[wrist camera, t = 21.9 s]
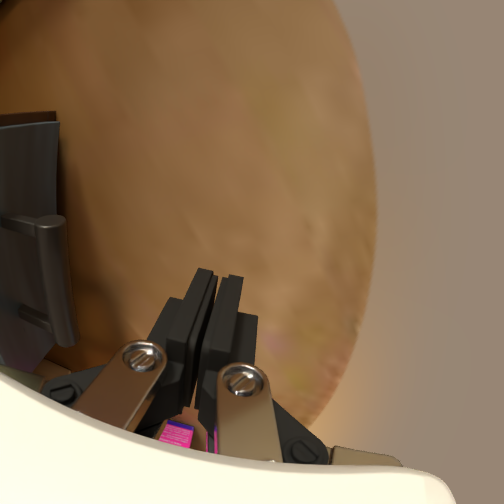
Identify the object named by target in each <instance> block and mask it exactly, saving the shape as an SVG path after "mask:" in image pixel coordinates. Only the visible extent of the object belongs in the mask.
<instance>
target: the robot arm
mask: <svg viewBox="0 0 504 504" xmlns="http://www.w3.org/2000/svg"><path fill="white" fill-rule="evenodd" d="M243 279H244V277H240V276H235V275H230V274H229V277H228V278H225V277H222V281H221V284H220V287H219V290H218V294H217V297H216V300H215V294H216V288H217V282H218V276H216V275H213V271H211V270H206V269H201V268H198V270H197V272H196V274H195V276H194V278H193V280H192V282H191V284H190V287H189V289H188V291H187V293H186V295H185V297H184V299H183V300H181V299H177V298H173V297H170V298H169V299H168V301H167V303H166V305H165V306H164V308H163V310H162V312H161V314H160V316H159V318H158V319H157V321H156V323H155V325H154V327H153V329H152V331H151V333H150V334H149V336H148V338H147V340H134V341H130V342H128V343H126V344H124V345H123V346H122V347H121V348H120V349H119V350H118V351H117V352H116V353H115V355H114V356H113V357H112V358H111V359H110V360H109V362H108V363H107V364H105V365H101V366H97V367H94V368H90V369H86V370H83V371H79V372H75V373H71V374H67V375H63V376H59V377H56V378H54V379H51V380H47V379H46V376H42V375H38V374H34V373H31V372H27V371H23V370H20V369H16V368H13V367H10V366H6V365H3V364H0V504H456V502H455V500H454V497H453V495H452V493H451V491H450V489H449V488H448V486H447V485H446V484H445V483H444V481H442V480H441V479H439V478H438V477H436V476H434V475H432V474H430V473H427V472H424V471H420V470H416V469H411V468H406V467H403V466H402V464H401V463H400V461H399V460H397V459H396V458H395V457H392V456H389V455H384V454H377V453H371V452H365V451H360V450H354V449H349V448H344V447H340V446H334V447H333V448H330V447H326V446H325V445H324V444H323V443H322V441H321V440H320V439H318V438H317V437H316V436H315V435H313V434H312V433H311V432H310V431H309V430H308V429H306V428H305V427H304V426H303V425H302V424H300V423H299V422H298V421H297V420H296V419H295V418H294V417H292V416H291V415H290V414H289V413H288V412H287V411H286V410H284V409H283V408H282V407H281V406H280V405H279V404H278V403H277V402H276V401H274V400H273V399H272V395H271V390H270V384H269V380H268V378H267V376H266V374H265V373H264V372H263V371H262V370H261V369H259V368H258V367H256V366H254V362H255V350H256V337H257V324H258V316H256V315H251V314H246V313H241V312H238V307H239V301H240V295H241V290H242V284H243ZM214 300H215V303H214ZM197 378H198V379H197ZM196 382H197V388H196V397H195V406H194V409H198V410H199V413H198V420H199V422H200V423H201V424H202V425H203V426H204V428H205V429H206V430H207V433H206V452H203V451H199V450H194V449H190V448H185V447H181V446H177V445H173V444H169V443H165V442H162V441H158V440H159V438H160V436H161V434H162V432H163V431H164V429H165V427H166V425H167V421H168V419H169V418H171V417H174V416H176V415H178V414H182V410H183V407H184V406H185V407H190V404H191V400H192V396H193V393H194V389H195V385H196Z"/></svg>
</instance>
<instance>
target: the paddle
mask: <svg viewBox="0 0 504 504" xmlns="http://www.w3.org/2000/svg"><path fill="white" fill-rule="evenodd" d="M32 373H34V374H38V375H42V376H46V379H47V380H51V379H54V378H56V377H59V376H63V375H67V374H71V371H70V370H68V369H66V368H64V367H61V366H59V365H57V364H55V363H53V362H51V361H49V360H47V359H45V358H43V359H42V360H41V362H40V363H39V364H38V366H37V367H36V368H35V369H34V371H33V372H32Z"/></svg>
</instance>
